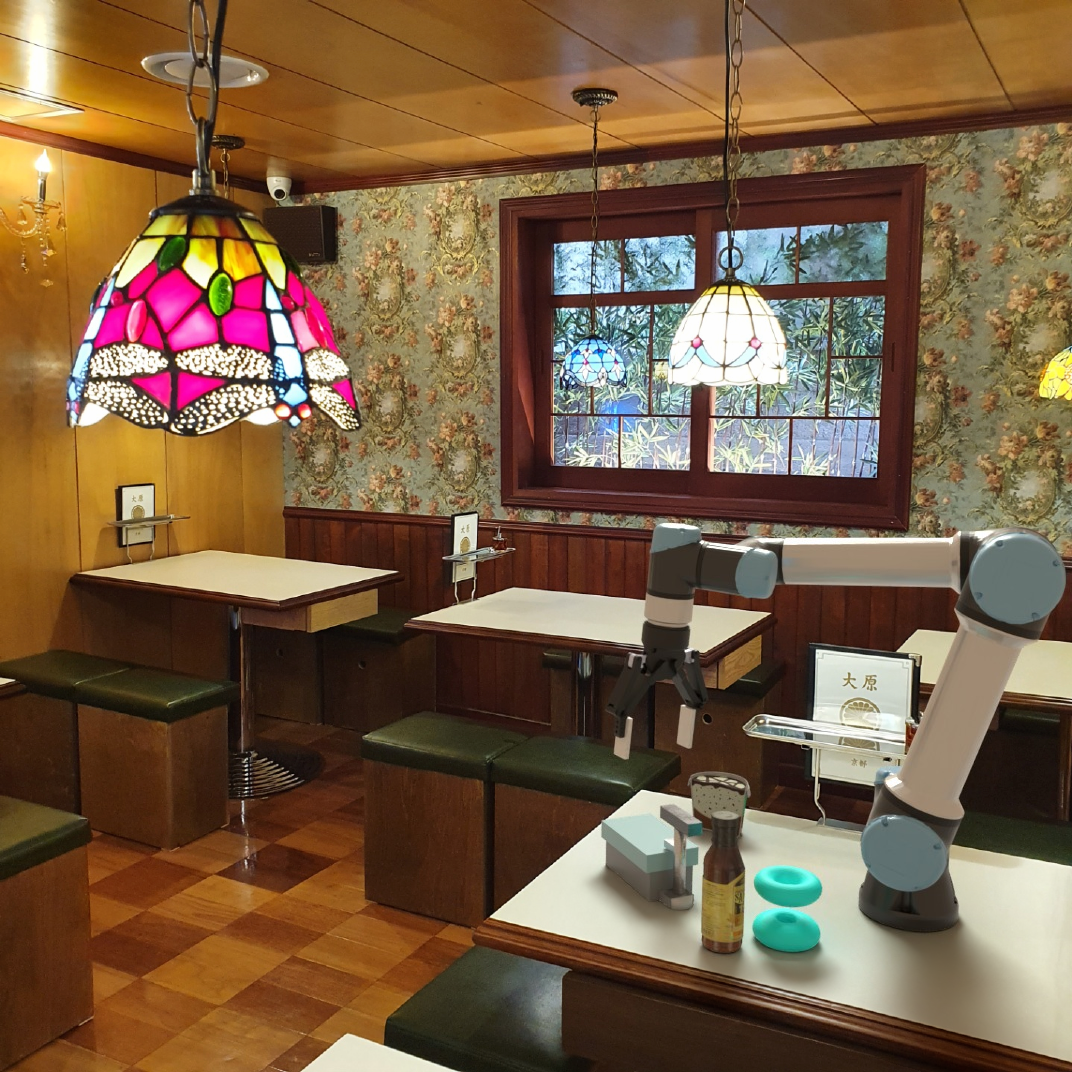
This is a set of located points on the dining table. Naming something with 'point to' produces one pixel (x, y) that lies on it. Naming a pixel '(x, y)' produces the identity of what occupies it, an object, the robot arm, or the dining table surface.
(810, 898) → the donuts
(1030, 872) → the dining table surface
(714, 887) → the sauce bottle
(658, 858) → the cover
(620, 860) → the case
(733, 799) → the food container
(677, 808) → the key
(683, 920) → the dining table surface
